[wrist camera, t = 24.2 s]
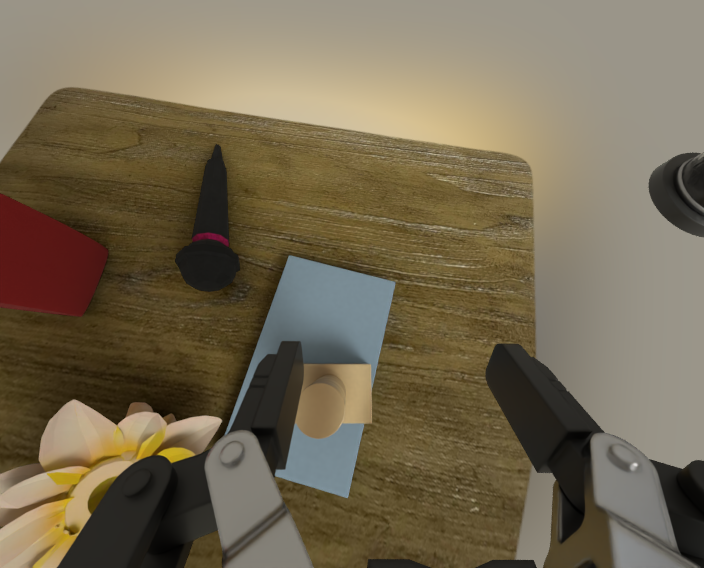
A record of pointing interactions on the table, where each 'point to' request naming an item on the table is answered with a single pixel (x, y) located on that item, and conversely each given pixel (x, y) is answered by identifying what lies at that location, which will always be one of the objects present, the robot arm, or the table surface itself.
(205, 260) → the microphone
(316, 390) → the wooden stamp
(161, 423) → the decorative flower
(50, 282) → the red curved piece
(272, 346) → the mat
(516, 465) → the table surface
